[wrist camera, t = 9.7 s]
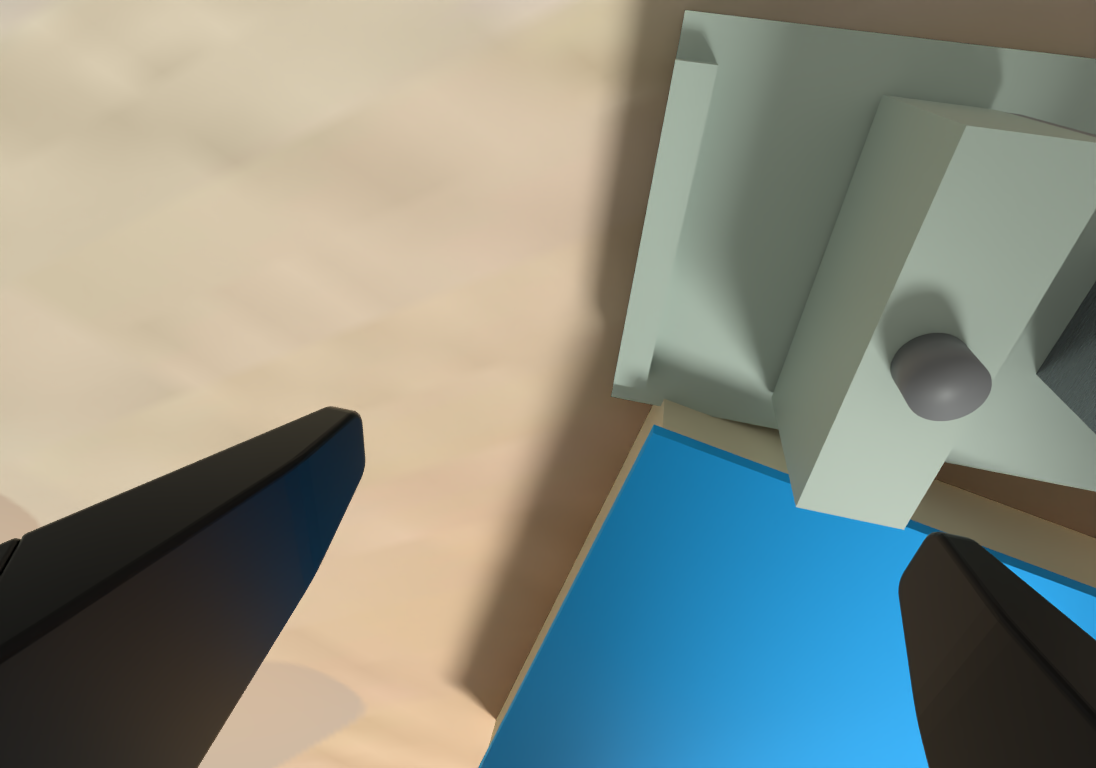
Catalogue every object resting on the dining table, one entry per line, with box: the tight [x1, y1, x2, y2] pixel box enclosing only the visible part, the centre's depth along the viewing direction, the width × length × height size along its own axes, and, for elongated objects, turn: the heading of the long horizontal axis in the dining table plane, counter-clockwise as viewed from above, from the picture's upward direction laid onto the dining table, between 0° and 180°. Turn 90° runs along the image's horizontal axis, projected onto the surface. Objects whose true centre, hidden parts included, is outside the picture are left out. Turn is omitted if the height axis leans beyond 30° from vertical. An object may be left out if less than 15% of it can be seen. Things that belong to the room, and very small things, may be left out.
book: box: [478, 399, 1096, 768], centre depth 26 cm, size 17×4×25 cm
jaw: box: [772, 95, 1096, 530], centre depth 14 cm, size 3×9×6 cm, turn 174°
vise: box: [611, 10, 1096, 492], centre depth 14 cm, size 20×11×6 cm, turn 84°
